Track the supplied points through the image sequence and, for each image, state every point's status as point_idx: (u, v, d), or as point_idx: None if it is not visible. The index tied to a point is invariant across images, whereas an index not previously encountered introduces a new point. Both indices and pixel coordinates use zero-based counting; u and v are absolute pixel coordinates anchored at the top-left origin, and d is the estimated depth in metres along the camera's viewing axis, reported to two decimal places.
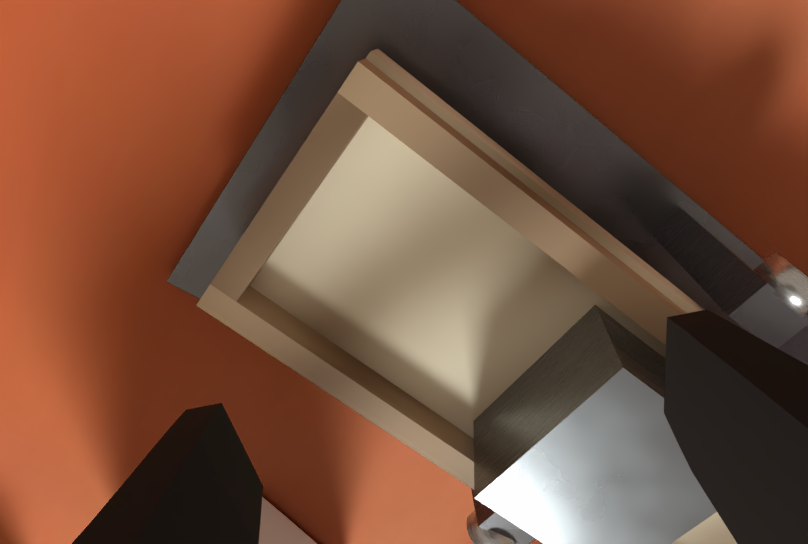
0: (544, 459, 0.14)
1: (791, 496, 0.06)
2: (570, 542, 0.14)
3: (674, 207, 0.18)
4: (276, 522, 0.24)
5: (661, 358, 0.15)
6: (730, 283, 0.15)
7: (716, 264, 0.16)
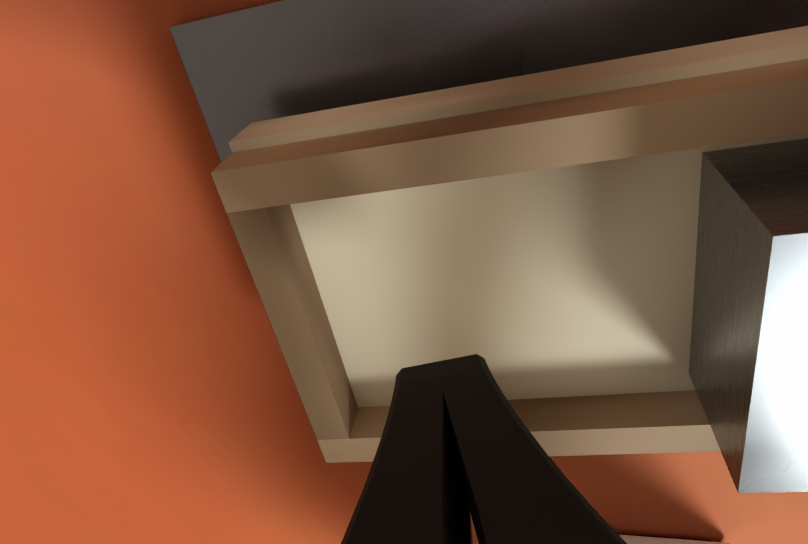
0: (783, 404, 0.09)
1: None
2: None
3: None
4: None
5: None
6: None
7: None
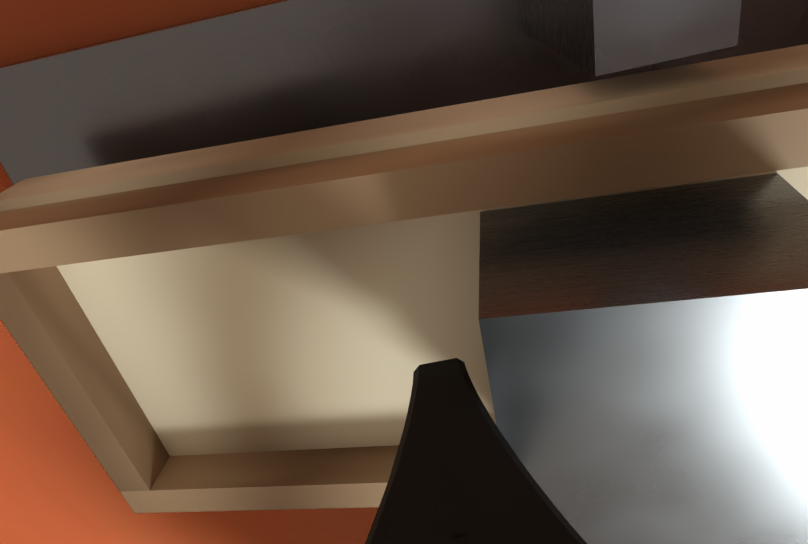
0: (536, 477, 0.08)
1: None
2: (696, 538, 0.09)
3: None
4: None
5: (627, 200, 0.09)
6: (576, 25, 0.09)
7: (559, 11, 0.09)
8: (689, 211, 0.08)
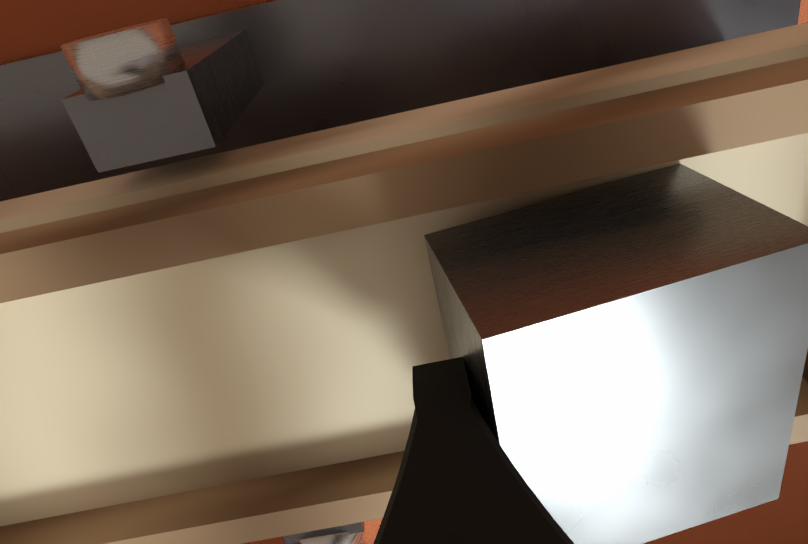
0: (540, 493, 0.08)
1: None
2: (680, 512, 0.09)
3: None
4: None
5: (563, 203, 0.09)
6: None
7: None
8: (625, 205, 0.09)
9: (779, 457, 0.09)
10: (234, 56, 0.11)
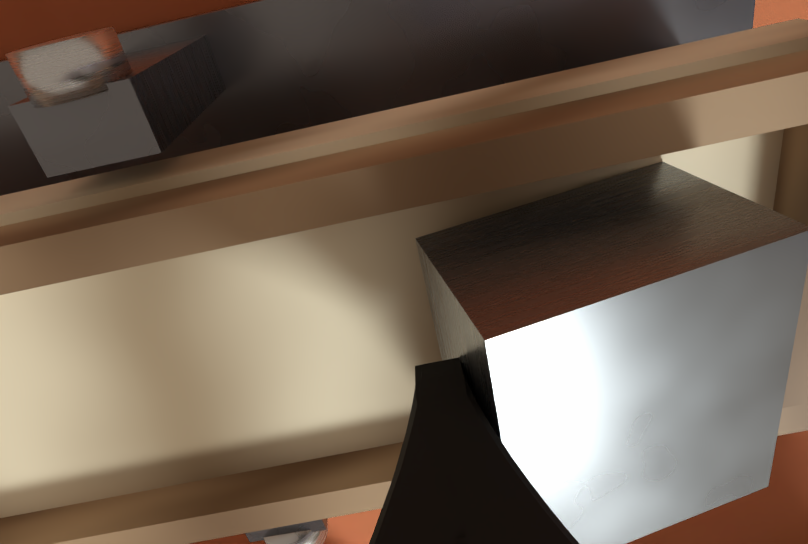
0: (541, 491, 0.08)
1: None
2: (676, 504, 0.09)
3: None
4: None
5: (552, 203, 0.09)
6: None
7: None
8: (613, 203, 0.09)
9: (769, 446, 0.09)
10: (190, 62, 0.11)
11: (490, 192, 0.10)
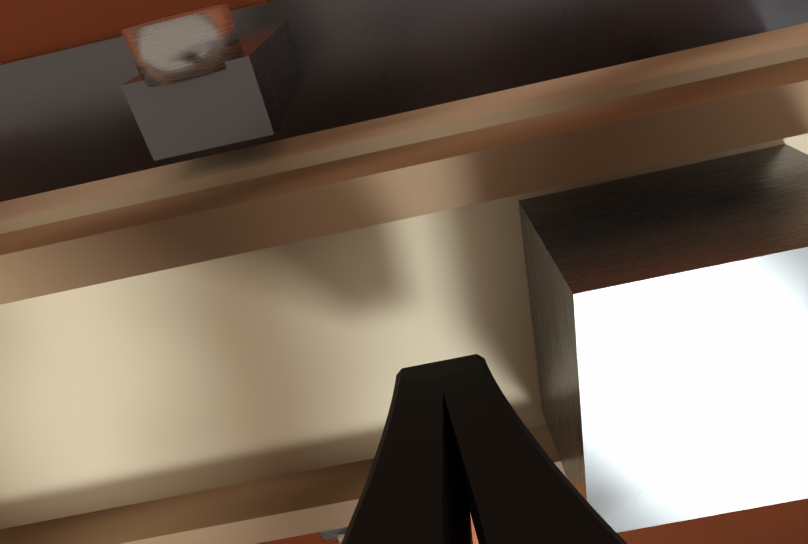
0: (614, 450, 0.09)
1: None
2: (754, 489, 0.09)
3: None
4: None
5: (659, 177, 0.09)
6: None
7: None
8: (724, 181, 0.09)
9: None
10: (281, 45, 0.11)
11: (606, 176, 0.10)
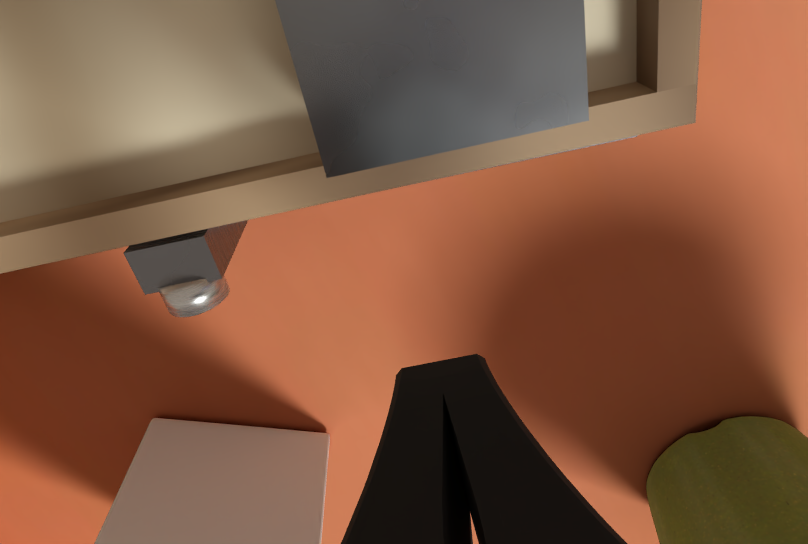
0: (320, 48, 0.09)
1: None
2: (479, 115, 0.09)
3: None
4: (198, 432, 0.22)
5: None
6: None
7: None
8: None
9: (577, 55, 0.09)
10: None
11: None
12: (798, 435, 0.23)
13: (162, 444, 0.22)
